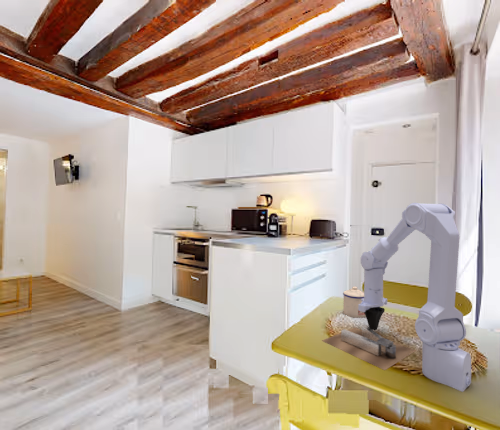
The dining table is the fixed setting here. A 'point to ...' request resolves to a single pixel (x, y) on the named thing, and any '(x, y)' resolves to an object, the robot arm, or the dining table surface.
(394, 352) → the bar
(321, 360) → the dining table surface
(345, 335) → the arm
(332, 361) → the dining table surface
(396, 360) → the walnut board
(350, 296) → the teacup with lid
